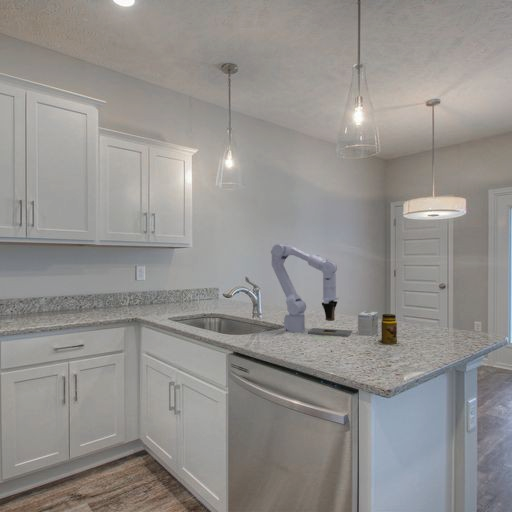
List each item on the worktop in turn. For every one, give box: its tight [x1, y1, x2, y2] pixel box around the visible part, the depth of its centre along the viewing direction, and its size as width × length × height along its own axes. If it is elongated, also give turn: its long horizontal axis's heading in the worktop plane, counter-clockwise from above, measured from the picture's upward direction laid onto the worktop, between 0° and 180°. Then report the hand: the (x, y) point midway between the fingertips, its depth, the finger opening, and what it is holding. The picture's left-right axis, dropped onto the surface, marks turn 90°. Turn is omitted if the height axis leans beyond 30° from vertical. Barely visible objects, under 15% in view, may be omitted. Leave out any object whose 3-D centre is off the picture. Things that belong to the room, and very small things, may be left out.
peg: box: [325, 307, 335, 322], centre depth 171 cm, size 4×4×6 cm
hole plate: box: [307, 327, 353, 338], centre depth 171 cm, size 18×10×3 cm, turn 66°
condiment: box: [375, 313, 400, 346], centre depth 157 cm, size 7×8×12 cm
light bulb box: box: [357, 311, 379, 337], centre depth 171 cm, size 11×7×11 cm, turn 149°
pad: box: [310, 335, 338, 342], centre depth 160 cm, size 10×7×2 cm
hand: (329, 317), depth 171 cm, fingers closed on peg, 4 cm apart
